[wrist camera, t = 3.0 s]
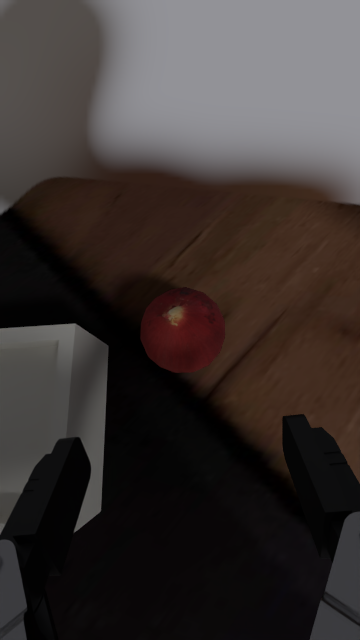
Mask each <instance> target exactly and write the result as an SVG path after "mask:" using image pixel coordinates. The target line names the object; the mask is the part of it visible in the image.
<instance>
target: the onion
mask: <svg viewBox="0 0 360 640" xmlns="http://www.w3.org/2000/svg"><path fill="white" fill-rule="evenodd" d="M140 339H141V342H142V344H143V346H144V348H145V351H146V353H147V355H148V357H149V358H151V359H152V360H153V361H154V362H155V363H156V364H157V365H158V366H160V367H162V368H165V369H167V370H170V371H173V372H176V373H181V372H194V371H197V370H199V369H201V368H203V367H206V366H208V365H209V364H210V363H211V362H212V361H213V360H214V359H215V357H216V356H217V355H218V354H219V353H220V351H221V348H222V345H223V342H224V339H225V321H224V318H223V316H222V314H221V312H220V310H219V308H218V306H217V304H216V303H215V302H214V301H213V300H211V299H210V298H209V297H208V296H207V295H206V294H204V293H202V292H200V291H196V290H193V289H190V288H187V287H183V288H178V289H173V290H169V291H167V292H165V293H163V294H161V295H159V296H158V297H156V298H155V299H154V300H153V301H152V302H151V303H150V305H149V306H148V307H147V308H146V310H145V313H144V316H143V319H142V321H141V338H140Z"/></svg>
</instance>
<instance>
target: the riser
mask: <svg viewBox="0 0 360 640" xmlns="http://www.w3.org/2000/svg"><path fill="white" fill-rule="evenodd" d="M107 367H108V345H106V344H105V343H103V342H102V341H100V340H99V339H98V338H96V337H95V336H93V335H92V334H90V333H89V332H87V331H86V330H84V329H83V328H81V327H80V326H78V325H77V324H61V325H46V326H32V327H17V328H2V329H0V534H1V532H2V530H3V528H4V526H5V524H6V522H7V520H8V518H9V516H10V514H11V512H12V510H13V508H14V506H15V504H16V502H17V500H18V499H19V497H20V495H21V493H23V489H24V487H25V485H26V483H27V482H28V479H29V477H30V475H31V473H32V471H33V469H34V467H35V465H36V464H37V463H38V462H39V461H40V460H41V459H42V458H43V457H44V455H45V454H51V452H52V450H53V448H54V446H55V444H56V442H57V441H58V440H59V439H61V438H71V437H79V438H80V439H81V441H82V443H83V446H84V448H85V451H86V453H87V455H88V458H89V460H90V463H91V477H90V481H89V484H88V487H87V491H86V494H85V497H84V501H83V504H82V507H81V510H80V514H79V517H78V520H77V524H76V527H75V530H74V532H76V531H77V530H78V529H79V528H81V527H82V526H83V525H84V524H86V523H87V522H88V521H89V520H91V519H92V518H93V517H94V516H96V515H97V514H98V513H99V512H101V497H102V475H103V454H104V432H105V410H106V389H107Z"/></svg>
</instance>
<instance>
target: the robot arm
mask: <svg viewBox="0 0 360 640" xmlns="http://www.w3.org/2000/svg"><path fill="white" fill-rule="evenodd" d="M283 452H284V456H285V460H286V463H287V466H288V469H289V471H290V474H291V477H292V480H293V483H294V486H295V488H296V491H297V494H298V497H299V500H300V503H301V505H302V508H303V511H304V514H305V517H306V519H307V522H308V525H309V528H310V531H311V534H312V536H313V539H314V542H315V545H316V548H317V551H318V553H319V556H320V559H324V558H331V561H332V563H333V564H332V568H331V572H330V575H329V579H328V583H327V586H326V590H325V593H324V595H323V596H322V599H321V602H320V605H319V608H318V612H317V616H316V619H315V623H314V626H313V630H312V634H311V637H310V640H360V484H359V482H358V480H357V478H356V477H355V475H354V473H353V471H352V470H351V468H350V466H349V465H348V464H347V461H346V459H345V457H344V455H343V454H342V453H341V450H340V448H339V447H338V445H337V443H336V441H335V440H334V438H333V437H332V436H331V435H330V434H329V433H327V432H326V431H325V430H324V429H323V428H322V427H319V428H311V427H310V425H309V423H308V421H307V419H306V417H305V415H304V414H299V415H290V416H283ZM90 477H91V463H90V460H89V458H88V455H87V453H86V451H85V448H84V446H83V443H82V441H81V439H80V438H79V437H71V438H61V439H59V440H58V441H57V442H56V444H55V446H54V448H53V450H52V452H51V454H45V455H44V457H43V458H42V459H41V460H40V461H39V462H38V463H37V464H36V465H35V467H34V469H33V471H32V473H31V475H30V477H29V479H28V482H27V483H26V485H25V487H24V489H23V493H21V495H20V497H19V499H18V500H17V502H16V504H15V506H14V508H13V510H12V512H11V514H10V516H9V518H8V520H7V522H6V524H5V526H4V528H3V530H2V532H1V534H0V640H59V639H58V636H57V632H56V628H55V624H54V620H53V616H52V613H51V609H50V605H49V601H48V597H47V593H46V590H45V585H46V582H47V579H48V576H53V575H61V573H62V569H63V566H64V563H65V560H66V556H67V553H68V550H69V547H70V543H71V540H72V537H73V533H74V530H75V527H76V524H77V520H78V517H79V514H80V510H81V507H82V504H83V501H84V497H85V494H86V491H87V487H88V484H89V481H90Z"/></svg>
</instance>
